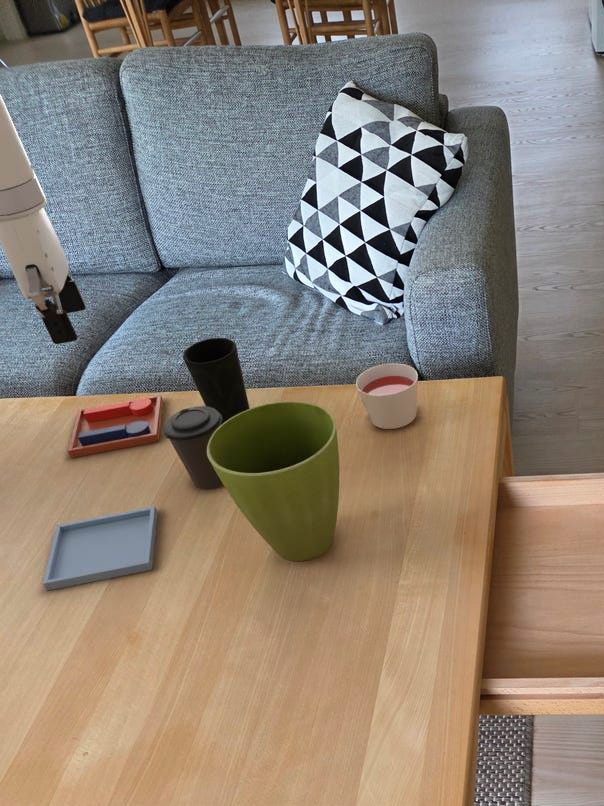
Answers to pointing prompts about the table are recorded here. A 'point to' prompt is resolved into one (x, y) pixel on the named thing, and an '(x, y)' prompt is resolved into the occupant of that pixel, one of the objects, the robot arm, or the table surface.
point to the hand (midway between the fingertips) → (70, 325)
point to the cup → (218, 375)
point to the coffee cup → (195, 442)
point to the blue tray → (101, 548)
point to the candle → (389, 394)
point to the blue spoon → (114, 433)
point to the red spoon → (119, 410)
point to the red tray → (83, 426)
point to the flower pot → (282, 474)
